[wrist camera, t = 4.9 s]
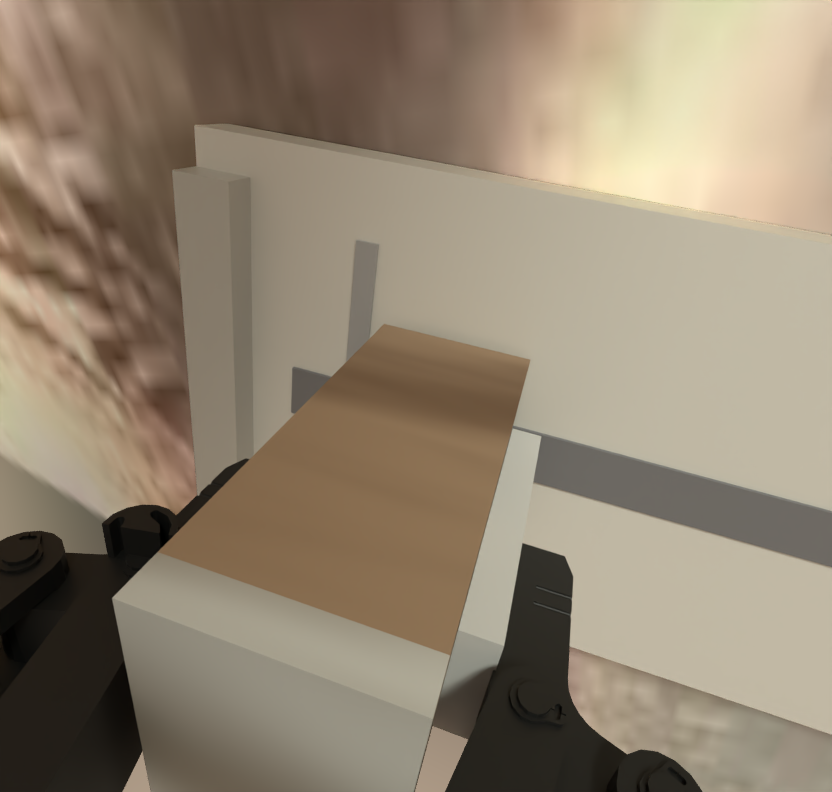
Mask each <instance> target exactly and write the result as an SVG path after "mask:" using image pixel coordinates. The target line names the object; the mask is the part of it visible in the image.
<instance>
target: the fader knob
mask: <svg viewBox="0 0 832 792" xmlns="http://www.w3.org/2000/svg"><path fill="white" fill-rule="evenodd" d="M529 364H530V359H526V358H522V357H518V356H513V355H509V354H505V353H501V352H497V351H493V350H489V349H485V348H481V347H477V346H473V345H469V344H465V343H460V342H456V341H452V340H448V339H444V338H440V337H436V336H432V335H428V334H424V333H420V332H416V331H411V330H407V329H403V328H399V327H395V326H391V325H387V324H383V325H382V326H381V327H380V328H379V329H378V330H377V331H376V333H375V334H374V335H373V336H372V337H371V338H370V339H369V340H368V341H367V342H366V343H365V344H364V345H363V346H362V347H361V348H360V349H359V350H358V351H357V352H356V353H355V354H354V355H353V356H352V357H351V358H350V359H349V360H348V361H347V362H346V363H345V364H344V365H343V366H342V367H341V368H340V369H339V370H338V371H337V372H336V373H335V374H334V375H333V376H332V377H331V378H330V379H329V380H328V381H327V382H326V383H325V384H324V385H323V386H322V387H321V388H320V389H319V390H318V391H317V392H316V393H315V394H314V395H313V396H312V397H311V398H310V399H309V400H308V401H307V402H306V403H305V404H304V405H303V406H302V407H301V408H300V409H299V410H298V411H297V412H296V413H295V414H294V415H293V416H292V417H291V418H290V419H289V420H288V421H287V422H286V423H285V424H284V425H283V426H282V427H281V428H280V429H279V430H278V431H277V432H276V433H275V434H274V435H273V436H272V437H271V438H270V439H269V440H268V441H267V442H266V443H265V444H264V445H263V446H262V447H261V448H260V449H259V450H258V451H257V452H256V453H255V454H254V455H253V456H252V457H251V458H250V459H249V461H248V462H247V463H246V464H245V465H244V466H243V467H242V468H241V469H240V470H239V471H238V472H237V473H236V474H235V475H234V476H233V477H232V478H231V479H230V480H229V481H228V482H227V483H226V484H225V485H224V486H223V487H222V488H221V489H220V490H219V491H218V492H217V493H216V494H215V495H214V496H213V497H212V498H211V499H210V500H209V501H208V502H207V503H206V504H205V505H204V506H203V507H202V508H201V509H200V510H199V511H198V512H197V513H196V514H195V515H194V516H193V517H192V518H191V519H190V520H189V521H188V522H187V523H186V524H185V525H184V526H183V527H182V528H181V529H180V530H179V531H178V532H177V533H176V534H175V535H174V536H173V537H172V538H171V539H170V540H169V541H168V542H167V543H166V544H165V545H164V546H163V547H162V548H161V549H160V550H159V551H158V552H157V553H156V554H155V555H154V556H153V557H152V558H151V559H150V560H149V561H148V562H147V563H146V564H145V565H144V566H143V567H142V568H141V569H140V570H139V571H138V572H137V573H136V574H135V575H134V576H133V577H132V578H131V579H130V580H129V581H128V582H127V583H126V584H125V585H124V586H123V587H122V589H121V590H120V591H119V592H118V593H117V594H116V595H115V596H114V597H113V598H112V600H113V605H114V610H115V615H116V620H117V625H118V630H119V635H120V640H121V645H122V650H123V655H124V660H125V665H126V670H127V675H128V680H129V685H130V690H131V695H132V700H133V705H134V710H135V715H136V720H137V725H138V730H139V735H140V740H141V745H142V750H143V755H144V760H145V765H146V770H147V775H148V780H149V785H150V790H151V792H415V789H416V785H417V781H418V778H419V774H420V770H421V767H422V763H423V759H424V755H425V751H426V748H427V744H428V741H429V737H430V733H431V729H432V725H433V721H434V717H435V714H436V710H437V706H438V702H439V698H440V695H441V691H442V687H443V683H444V680H445V676H446V672H447V669H448V665H449V661H450V658H451V654H452V650H453V647H454V643H455V639H456V635H457V632H458V628H459V624H460V621H461V617H462V613H463V610H464V606H465V602H466V599H467V595H468V591H469V587H470V584H471V580H472V576H473V573H474V569H475V565H476V562H477V558H478V554H479V551H480V547H481V543H482V539H483V536H484V532H485V528H486V525H487V521H488V517H489V514H490V510H491V506H492V503H493V499H494V495H495V491H496V488H497V484H498V480H499V477H500V473H501V469H502V465H503V462H504V458H505V454H506V450H507V447H508V443H509V439H510V435H511V432H512V428H513V424H514V420H515V417H516V413H517V409H518V405H519V401H520V398H521V394H522V390H523V386H524V383H525V379H526V375H527V371H528V368H529Z"/></svg>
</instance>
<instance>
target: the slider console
mask: <svg viewBox="0 0 832 792" xmlns="http://www.w3.org/2000/svg"><path fill="white" fill-rule="evenodd" d="M194 129H195V147H196V165H197V166H195V167H188V168H182V169H175V170H172V177H173V190H174V203H175V215H176V228H177V241H178V254H179V267H180V280H181V292H182V305H183V318H184V331H185V344H186V357H187V369H188V382H189V395H190V408H191V421H192V434H193V447H194V459H195V472H196V485H197V496H199V495H200V492H201V491H202V490H203V489H204V488H205V487H206V486H207V485H208V484H211V482H212V480H214V479H215V478H216V477H217V476H218V475H219V474H220V473H221V472H222V471H223V470H224V469H225V468H226V467H228V466H230V465H233V464H235V463H237V462H239V461H241V460H243V459H245V458H246V459H250V458H251V457H252V456H253V455H254V454H255V453H256V452H257V451H258V450H259V449H260V448H261V447H262V446H263V445H264V444H265V443H266V442H267V441H268V440H269V439H270V438H271V437H272V436H273V435H274V434H275V433H276V432H277V431H278V430H279V429H280V428H281V427H282V426H283V425H284V424H285V423H286V422H287V421H288V420H289V419H290V418H291V417H292V416H293V415H294V414H295V413H296V412H297V411H298V410H299V409H300V408H301V407H302V406H303V405H304V404H305V403H306V402H307V401H308V400H309V399H310V398H311V397H312V396H313V395H314V394H315V393H316V392H317V391H318V390H319V389H320V388H321V387H322V386H323V385H324V384H325V383H326V382H327V381H328V380H329V379H330V378H331V377H332V376H333V375H334V374H335V373H336V372H337V371H338V370H339V369H340V368H341V367H342V366H343V365H344V364H345V363H346V362H347V361H348V360H349V359H350V358H351V357H352V356H353V355H354V354H355V353H356V352H357V351H358V350H359V349H360V348H361V347H362V346H363V345H364V344H365V343H366V342H367V341H368V340H369V339H370V338H371V337H372V336H373V335H374V334H375V333H376V331H377V330H378V329H379V328H380V327H381V326H382V325H383V324H387V325H391V326H395V327H399V328H403V329H407V330H411V331H416V332H420V333H424V334H428V335H432V336H436V337H440V338H444V339H448V340H452V341H456V342H460V343H465V344H469V345H473V346H477V347H481V348H485V349H489V350H493V351H497V352H501V353H505V354H509V355H513V356H518V357H522V358H526V359H530V364H529V368H528V371H527V375H526V379H525V383H524V386H523V390H522V394H521V398H520V401H519V405H518V409H517V413H516V417H515V420H514V424H513V428H512V429H517V430H520V431H524V432H528V433H531V434H535V435H539V436H541V441H540V447H539V452H538V458H537V464H536V469H535V475H534V481H533V486H532V492H531V498H530V503H529V509H528V514H527V520H526V526H525V531H524V537H523V543H524V544H527V545H531V546H534V547H537V548H540V549H544V550H547V551H550V552H553V553H556V554H560V555H563V556H565V558H566V560H567V563H568V565H569V567H570V570H571V572H572V574H573V593H572V611H571V629H570V647H573V648H576V649H579V650H582V651H585V652H588V653H591V654H594V655H597V656H600V657H603V658H606V659H608V660H611V661H614V662H617V663H620V664H623V665H626V666H629V667H632V668H635V669H638V670H641V671H644V672H647V673H650V674H653V675H656V676H659V677H662V678H665V679H668V680H671V681H674V682H677V683H680V684H683V685H686V686H689V687H692V688H695V689H698V690H701V691H704V692H707V693H710V694H713V695H716V696H719V697H722V698H724V699H727V700H730V701H733V702H736V703H739V704H742V705H745V706H748V707H751V708H754V709H757V710H760V711H763V712H766V713H769V714H772V715H775V716H778V717H781V718H784V719H787V720H790V721H793V722H796V723H799V724H802V725H805V726H808V727H811V728H814V729H817V730H820V731H823V732H826V733H829V734H832V235H828V234H822V233H817V232H811V231H806V230H800V229H795V228H790V227H784V226H779V225H773V224H768V223H763V222H757V221H752V220H746V219H741V218H736V217H730V216H725V215H719V214H714V213H709V212H703V211H698V210H692V209H687V208H682V207H676V206H671V205H665V204H660V203H655V202H649V201H644V200H638V199H633V198H628V197H622V196H617V195H611V194H606V193H600V192H595V191H590V190H584V189H579V188H573V187H568V186H563V185H557V184H552V183H546V182H541V181H536V180H530V179H525V178H519V177H514V176H509V175H503V174H498V173H492V172H487V171H482V170H476V169H471V168H465V167H460V166H455V165H449V164H444V163H438V162H433V161H428V160H422V159H417V158H411V157H406V156H401V155H395V154H390V153H384V152H379V151H373V150H368V149H363V148H357V147H352V146H346V145H341V144H336V143H330V142H325V141H319V140H314V139H309V138H303V137H298V136H292V135H287V134H282V133H276V132H271V131H265V130H260V129H255V128H249V127H244V126H238V125H233V124H228V123H227V124H205V125H194ZM511 433H512V432H511ZM510 437H511V435H510ZM509 440H510V439H509ZM508 444H509V443H508ZM507 448H508V447H507ZM506 451H507V450H506ZM505 455H506V454H505ZM504 459H505V458H504ZM502 466H503V465H502Z"/></svg>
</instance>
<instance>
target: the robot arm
mask: <svg viewBox="0 0 832 792" xmlns="http://www.w3.org/2000/svg"><path fill="white" fill-rule="evenodd" d="M540 441H541V436H539V435H535V434H531V433H528V432H524V431H520V430H517V429H512V433H511V437H510V440H509V444H508V448H507V451H506V455H505V459H504V462H503V466H502V469H501V473H500V477H499V480H498V484H497V488H496V491H495V495H494V499H493V503H492V506H491V510H490V514H489V517H488V521H487V525H486V528H485V532H484V536H483V539H482V543H481V547H480V551H479V554H478V558H477V562H476V565H475V569H474V573H473V576H472V580H471V584H470V587H469V591H468V595H467V599H466V602H465V606H464V610H463V613H462V617H461V621H460V624H459V628H458V632H457V635H456V639H455V643H454V647H453V650H452V654H451V658H450V661H449V665H448V669H447V672H446V676H445V680H444V683H443V687H442V691H441V695H440V698H439V702H438V706H437V710H436V714H435V717H434V721H433V725H432V726H435V727H437V728H440V729H443V730H445V731H448V732H450V733H453V734H456V735H458V736H461V737H463V738H466V739H469V740H468V742H467V744H466V746H465V748H464V751H463V753H462V755H461V758H460V760H459V762H458V764H457V766H456V769H455V771H454V773H453V775H452V778H451V780H450V782H449V784H448V787H447V789H446V791H445V792H702V790H701V789H700V787H699V786H698V784H697V783H696V782H695V780H694V779H693V777H692V776H691V775H690V774H689V773H688V772H687V771H686V770H685V769H684V768H683V767H681V766H680V765H679V764H678V763H677V762H676V761H675V760H673V759H671V758H669V757H667V756H665V755H663V754H661V753H659V752H655V751H648V750H638V751H636V752H633V753H630V754H628V755H627V754H626V753H624V752H623V751H622V750H620V749H619V748H617V747H616V746H614V745H613V744H612V743H610V742H609V741H607V740H606V739H605V738H603V737H602V736H600V735H599V734H598V733H597V732H596V731H595V730H593V729H592V728H591V727H590V726H589V725H588V724H587V723H586V722H585V720H584V719H583V718H582V717H581V716H580V714H579V713H578V711H577V709H576V707H575V706H574V704H573V702H572V699H571V696H570V693H569V689H568V665H569V647H570V629H571V611H572V593H573V574H572V572H571V570H570V567H569V565H568V563H567V560H566V558H565V556H563V555H560V554H556V553H553V552H550V551H547V550H544V549H540V548H537V547H534V546H531V545H527V544H524V543H523V537H524V531H525V526H526V520H527V514H528V509H529V503H530V498H531V492H532V486H533V481H534V475H535V469H536V464H537V458H538V452H539V447H540ZM248 461H249V459H246V458H245V459H243V460H241V461H239V462H237V463H235V464H233V465H230V466H228V467H226V468H225V469H224V470H223V471H222V472H221V473H220V474H219V475H218V476H217V477H216V478H215V479H214V480H212V482H211V484H208V485H207V486H206V487H205V488H204V489H203V490H202V491H201V492H200V495H199V496H196V497H195V498H194V499H193V500H192V501H191V502H190V503H189V504H188V505H187V506H186V507H185V508H184V509H183V510H181V511H180V512H179V513H178V514H177V515H175V514H174V513H173V512H171V511H170V510H169V509H167V508H164V507H161V506H158V505H139V506H134V507H129V508H126V509H124V510H121V511H119V512H117V513H115V514H113V515H112V516H110V517H109V518H108V519H107V520H106V521H104V522H103V523H102V527H103V532H104V538H105V543H106V548H107V553H108V554H106V555H98V554H80V553H79V554H78V553H65V549H64V546H63V543H62V540H61V539H60V538H59V537H57V536H56V535H55V534H52V533H48V532H43V531H33V532H23V533H20V534H16V535H13V536H10V537H7V538H5V539H3V540H2V541H0V792H122V791H123V789H124V787H125V785H126V783H127V781H128V779H129V777H130V775H131V773H132V771H133V769H134V767H135V765H136V763H137V761H138V759H139V757H140V755H141V753H142V751H143V750H142V745H141V740H140V735H139V730H138V725H137V720H136V715H135V710H134V705H133V700H132V695H131V690H130V685H129V680H128V675H127V670H126V665H125V660H124V655H123V650H122V645H121V640H120V635H119V630H118V625H117V620H116V615H115V610H114V605H113V600H112V598H113V597H114V596H115V595H116V594H117V593H118V592H119V591H120V590H121V589H122V587H123V586H124V585H125V584H126V583H127V582H128V581H129V580H130V579H131V578H132V577H133V576H134V575H135V574H136V573H137V572H138V571H139V570H140V569H141V568H142V567H143V566H144V565H145V564H146V563H147V562H148V561H149V560H150V559H151V558H152V557H153V556H154V555H155V554H156V553H157V552H158V551H159V550H160V549H161V548H162V547H163V546H164V545H165V544H166V543H167V542H168V541H169V540H170V539H171V538H172V537H173V536H174V535H175V534H176V533H177V532H178V531H179V530H180V529H181V528H182V527H183V526H184V525H185V524H186V523H187V522H188V521H189V520H190V519H191V518H192V517H193V516H194V515H195V514H196V513H197V512H198V511H199V510H200V509H201V508H202V507H203V506H204V505H205V504H206V503H207V502H208V501H209V500H210V499H211V498H212V497H213V496H214V495H215V494H216V493H217V492H218V491H219V490H220V489H221V488H222V487H223V486H224V485H225V484H226V483H227V482H228V481H229V480H230V479H231V478H232V477H233V476H234V475H235V474H236V473H237V472H238V471H239V470H240V469H241V468H242V467H243V466H244V465H245V464H246V463H247V462H248Z"/></svg>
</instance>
